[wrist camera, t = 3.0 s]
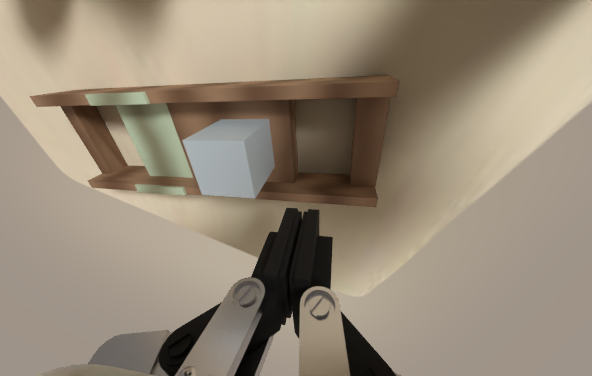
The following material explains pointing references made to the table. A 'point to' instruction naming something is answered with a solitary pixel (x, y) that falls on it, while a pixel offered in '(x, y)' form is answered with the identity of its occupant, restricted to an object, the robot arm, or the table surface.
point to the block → (232, 157)
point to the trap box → (228, 105)
